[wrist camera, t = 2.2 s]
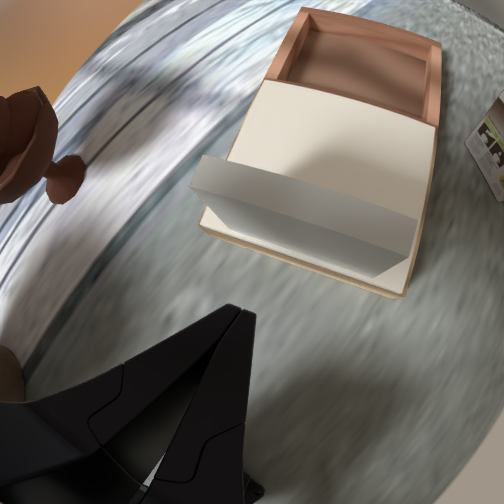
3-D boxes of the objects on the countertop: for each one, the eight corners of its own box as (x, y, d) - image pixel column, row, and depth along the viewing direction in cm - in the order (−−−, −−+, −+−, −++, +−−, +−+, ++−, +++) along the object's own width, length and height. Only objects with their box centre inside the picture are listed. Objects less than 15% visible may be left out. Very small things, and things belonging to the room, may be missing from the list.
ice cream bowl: (111, 120, 28) (21, 30, 14) (100, 221, 26) (-33, 153, 11) (41, 149, 30) (-46, 89, 15) (28, 239, 27) (-84, 198, 13)
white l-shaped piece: (399, 293, 17) (452, 280, 10) (202, 226, 20) (148, 180, 13) (432, 131, 19) (469, 64, 11) (265, 84, 22) (247, 9, 14)
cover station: (392, 299, 20) (404, 296, 18) (211, 236, 24) (197, 225, 21) (433, 62, 23) (441, 43, 20) (303, 27, 27) (301, 6, 24)
